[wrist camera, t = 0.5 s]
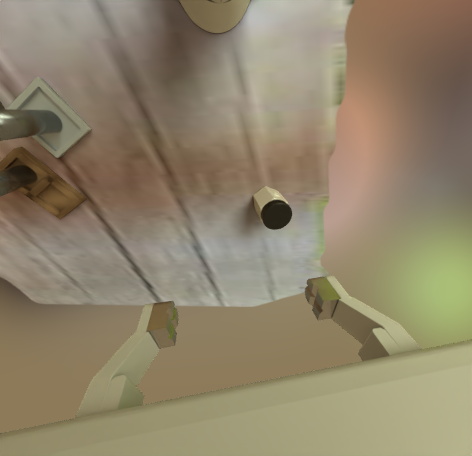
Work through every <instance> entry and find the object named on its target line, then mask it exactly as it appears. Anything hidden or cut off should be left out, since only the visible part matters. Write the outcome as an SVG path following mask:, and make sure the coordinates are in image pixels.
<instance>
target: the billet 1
mask: <svg viewBox="0 0 472 456" xmlns="http://www.w3.org/2000/svg"><path fill="white" fill-rule="evenodd" d="M62 127H63V126H62V122H61V120H60V118H59V117H58V116H57V115H56V114H55V113H54V112H52V111H49V110H12V109H0V141H1V140H8V139H15V138H22V137H29V136H36V135H42V134H49V133H56V132H60V131H61V130H62Z"/></svg>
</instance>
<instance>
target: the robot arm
mask: <svg viewBox="0 0 472 456" xmlns="http://www.w3.org/2000/svg"><path fill="white" fill-rule="evenodd" d="M179 1H180V3H181V5H182V6H183V8H184V10H185V11H186V13H187V14H188V16H189V17H190V18H191V20H192V21H193V22H194V23H195V24H197V25H198V26H199V27H200V28H202V29H204V30H206V31H208V32H212V33H223V32H226V31H228V30H230V29H232V28H233V27H234V26H236V25H237V24H238V22H239V21H240V20H241V19H242V17H243V15H244V14H245V12H246V9H247V7H248V5H249V3H250V1H251V0H179ZM307 285H308V286H307V287H306V288H305V295H306V299H307V301H308V303H309V304H310V305H312V306H313V309H312V311H313V312H314V314H315V316H316V318H317V320H323V319H329V318H332V320H333V321H334V322H336V323H337V324H338V325H339V326H341V327H342V328H343V329H344V330H346V331H347V332H348V333H349V334H350V335H352V336H353V337H354V338H355V339H356V340H358V341H359V342H360V343H361V344H363V346H362V348H361V349H360V350H359V356H360V357H361V359H362V361H361V362H356V363H351V364H346V365H341V366H336V367H331V368H326V369H321V370H316V371H311V372H306V373H301V374H296V375H291V376H285V377H280V378H276V379H270V380H266V381H260V382H255V383H251V384H245V385H241V386H235V387H230V388H225V389H220V390H216V391H210V392H205V393H200V394H195V395H190V396H185V397H180V398H175V399H170V400H165V401H160V402H155V403H150V404H145V405H142V404H143V398H144V395H143V393H142V392H141V391H140V390H139V389H138V388H136V386H137V385H138V383H139V382H140V380H141V378H142V377H143V375H144V373H145V372H146V370H147V369H148V367H149V366H150V364H151V363H152V361H153V359H154V358H155V356H156V355H157V353H158V351H159V349H161V348H165V347H170V346H175V342H176V334H177V333H176V331H175V328H176V327H177V326H178V312H177V309H176V308H174V305H175V304H174V302H173V301H168V302H160V303H153V304H146V305H145V306H144V308H143V311H142V314H141V317H140V320H139V323H138V326H137V330H136V333H135V334H132V335H131V337H129V339H128V340H127V341H126V342H125V343H124V344H123V345H122V346H121V348H120V349H119V350H118V351H117V352H116V353H115V354H114V355H113V357H112V358H111V359H110V360H109V361H108V362H107V363H106V364H105V365H104V367H103V368H102V369H101V370H100V371H99V372H98V373H97V374H96V375H95V376H94V378H93V379H92V380H91V382H90V385H89V387H88V389H87V392H86V394H85V396H84V398H83V401H82V403H81V406H80V408H79V410H78V412H77V415H76V417H75V419H69V420H64V421H60V422H54V423H49V424H44V425H39V426H34V427H29V428H24V429H19V430H14V431H9V432H4V433H0V456H472V340H467V341H462V342H457V343H452V344H447V345H442V346H437V347H431V348H427V349H421V348H420V346H419V345H418V344H417V343H416V342H415V341H414V340H413V339H412V337H411V336H410V335H409V334H408V333H407V332H406V331H405V330H404V329H403V327H402V326H401V325H400V324H399V323H397V322H395V321H394V320H392V319H390V318H388V317H387V316H385V315H383V314H381V313H380V312H378V311H376V310H374V309H373V308H371V307H369V306H367V305H366V304H364V303H362V302H360V301H359V300H356V299H355V298H353V297H350V296H349V295H348V294H347V293H346V291H345V290H344V289H343V287H342V286H341V285H340V284H339V282H338V281H337V280H336V278H335V277H334V276H332V275H331V276H325V277H318V278H312V279H308V280H307Z"/></svg>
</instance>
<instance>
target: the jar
mask: <svg viewBox="0 0 472 456" xmlns="http://www.w3.org/2000/svg"><path fill="white" fill-rule="evenodd" d="M253 198H254V208H255V210H256V212H257V214H258V216H259V218H260V220H261V222H263V223H264V225H265V226H266V227H267V228H269V229H273V230H276V229H281V228H283V227H284V226H286V225H287V224H288V223H289V222H290V220H291V217H292V210H291V208H290V207H289V205H288V202H287V201H286V200H285V199H284V198H283V196H282V195H281V194H280V193H279V192H278V191H277V190H274V189H271V188H269V187H266V186H264V187H263V188H262V189H261V190H259V191H258V192H257V193H256V194H254V195H253Z"/></svg>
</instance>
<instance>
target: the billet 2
mask: <svg viewBox="0 0 472 456" xmlns="http://www.w3.org/2000/svg"><path fill="white" fill-rule="evenodd" d="M36 181H37V174H36V173H35V172H34V171H33V170H32V169H31V168H29V167H27V166H25V165H18V166H14V167H11V168H8V169H4V170H1V171H0V196H3V195H5V194H8V193H10V192H12V191H15V190H17V189H20V188H22V187H24V186H27V185H29V184H32V183H34V182H36Z"/></svg>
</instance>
